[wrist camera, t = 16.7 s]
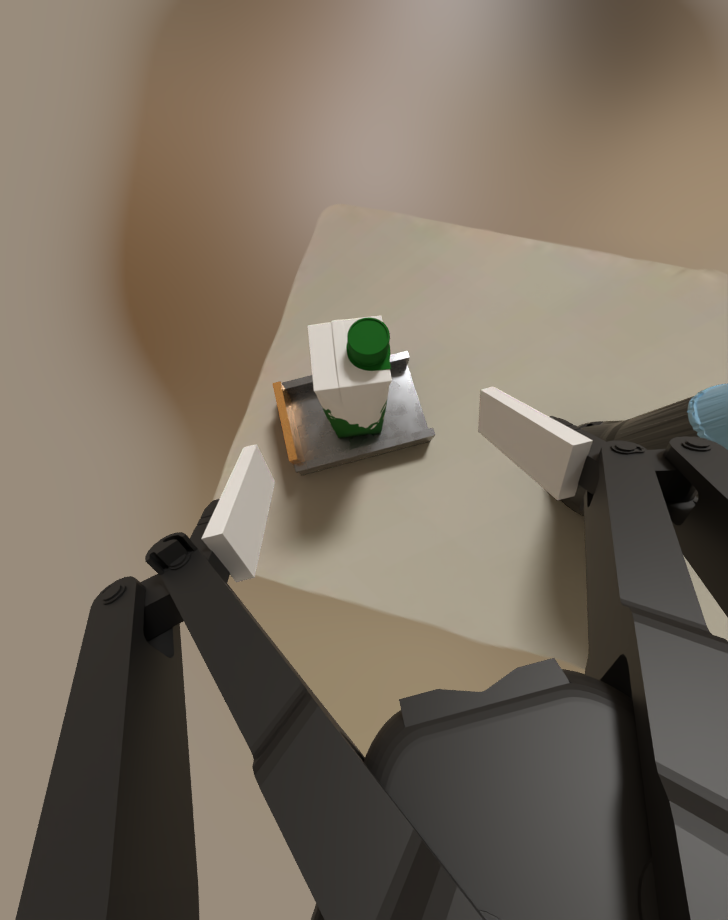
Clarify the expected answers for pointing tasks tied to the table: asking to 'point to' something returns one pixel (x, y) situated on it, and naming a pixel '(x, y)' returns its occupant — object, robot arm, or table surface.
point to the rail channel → (322, 449)
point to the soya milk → (351, 373)
